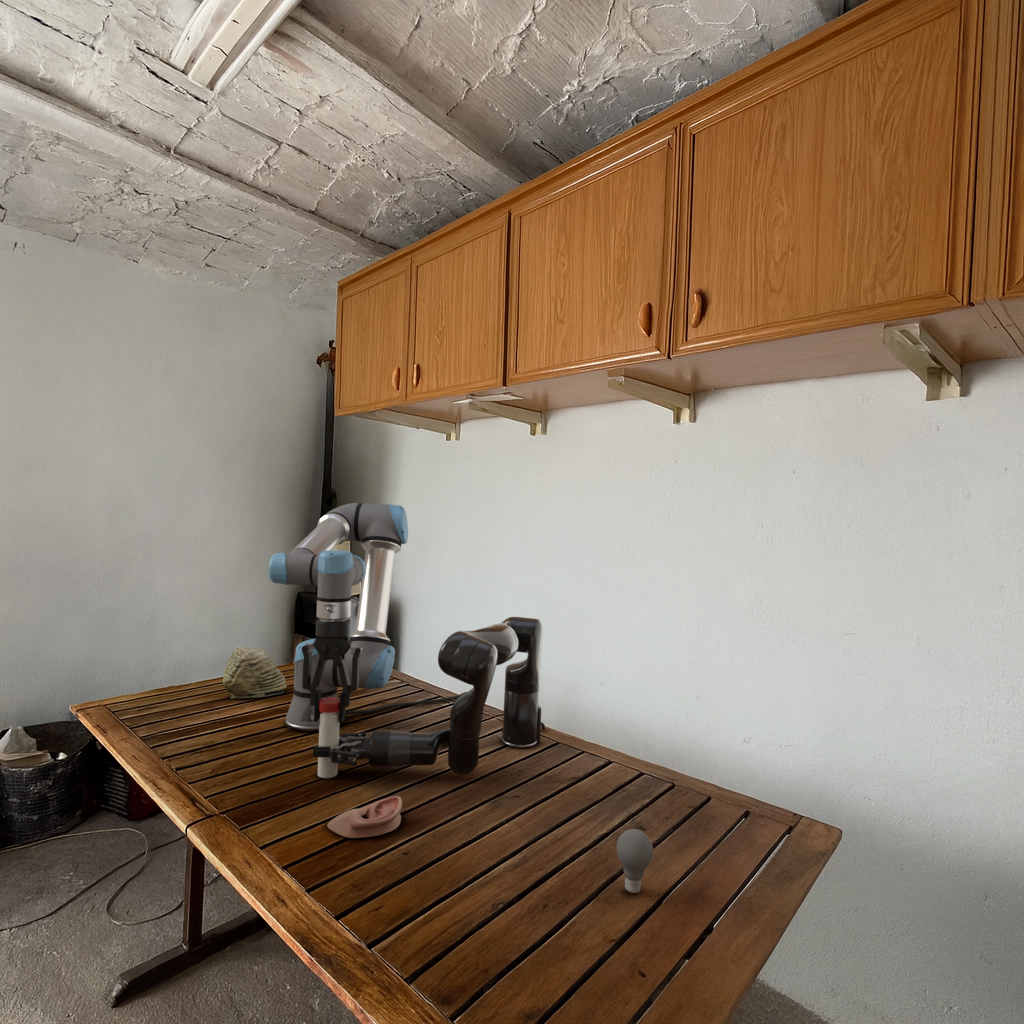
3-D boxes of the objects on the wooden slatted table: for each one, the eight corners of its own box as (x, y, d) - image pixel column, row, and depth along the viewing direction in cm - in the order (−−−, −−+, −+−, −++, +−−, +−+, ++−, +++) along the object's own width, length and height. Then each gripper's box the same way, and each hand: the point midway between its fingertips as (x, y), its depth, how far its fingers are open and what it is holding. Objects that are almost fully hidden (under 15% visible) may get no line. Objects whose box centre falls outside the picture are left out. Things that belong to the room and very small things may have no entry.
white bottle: (319, 779, 142) (322, 708, 142) (315, 771, 146) (318, 702, 145) (339, 776, 144) (342, 706, 144) (335, 768, 148) (337, 700, 147)
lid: (315, 707, 145) (315, 699, 145) (336, 704, 148) (337, 695, 148) (323, 714, 141) (323, 705, 141) (344, 710, 144) (345, 702, 144)
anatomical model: (320, 812, 119) (347, 786, 130) (319, 833, 119) (347, 805, 130) (386, 822, 116) (408, 795, 127) (385, 844, 116) (408, 814, 128)
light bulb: (610, 879, 108) (613, 822, 108) (644, 879, 109) (647, 822, 109) (619, 902, 102) (622, 840, 102) (655, 901, 103) (658, 840, 103)
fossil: (218, 695, 195) (220, 647, 195) (278, 685, 208) (279, 640, 207) (228, 703, 189) (230, 653, 188) (289, 692, 201) (290, 645, 201)
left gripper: (288, 620, 140) (284, 724, 141) (369, 623, 140) (365, 727, 141) (299, 614, 148) (295, 713, 148) (376, 617, 148) (372, 716, 148)
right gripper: (396, 721, 153) (324, 720, 152) (388, 744, 138) (308, 743, 137) (394, 752, 153) (322, 751, 152) (387, 778, 139) (307, 777, 137)
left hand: (329, 719), depth 145 cm, fingers closed on lid, 5 cm apart
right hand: (316, 747), depth 144 cm, fingers closed on white bottle, 4 cm apart
